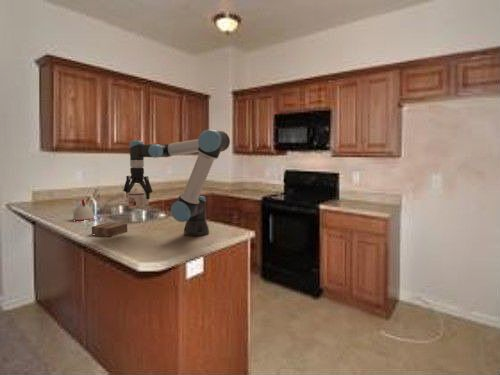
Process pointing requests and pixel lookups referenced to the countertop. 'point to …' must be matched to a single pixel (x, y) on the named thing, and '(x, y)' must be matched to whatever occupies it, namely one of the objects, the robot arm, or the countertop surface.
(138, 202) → the teacup with lid
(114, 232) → the block
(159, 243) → the countertop surface
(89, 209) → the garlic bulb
